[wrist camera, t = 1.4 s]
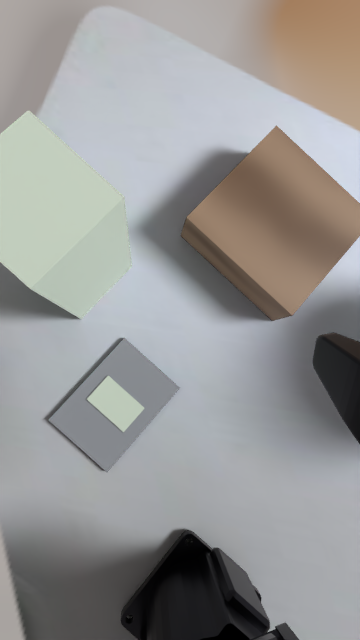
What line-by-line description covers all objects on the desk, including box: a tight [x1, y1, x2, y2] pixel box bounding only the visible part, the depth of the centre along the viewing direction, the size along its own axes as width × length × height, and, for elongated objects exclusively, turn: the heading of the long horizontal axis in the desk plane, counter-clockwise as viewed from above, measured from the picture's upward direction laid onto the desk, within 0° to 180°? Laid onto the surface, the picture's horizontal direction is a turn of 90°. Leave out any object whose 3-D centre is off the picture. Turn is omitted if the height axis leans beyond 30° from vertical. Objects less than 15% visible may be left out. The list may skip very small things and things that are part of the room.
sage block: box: [0, 110, 132, 319], centre depth 17 cm, size 5×5×10 cm
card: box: [49, 338, 179, 472], centre depth 21 cm, size 7×5×1 cm
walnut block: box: [181, 126, 360, 321], centre depth 23 cm, size 9×9×4 cm
